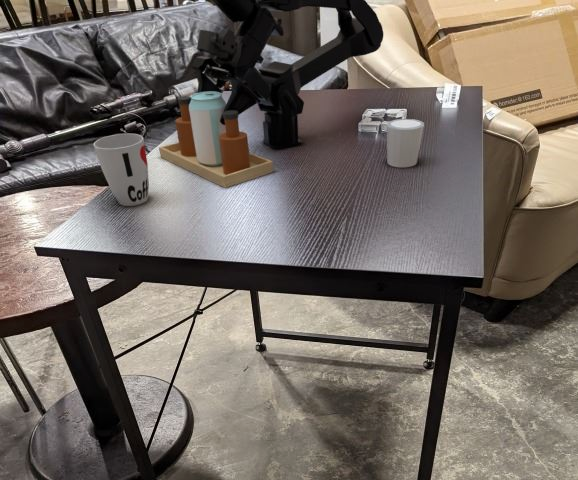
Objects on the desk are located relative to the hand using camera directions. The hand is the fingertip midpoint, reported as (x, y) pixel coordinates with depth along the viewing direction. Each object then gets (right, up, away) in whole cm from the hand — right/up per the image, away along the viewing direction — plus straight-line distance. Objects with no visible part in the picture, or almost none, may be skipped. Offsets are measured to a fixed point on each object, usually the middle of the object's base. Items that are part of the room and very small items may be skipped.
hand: (208, 119), depth 100 cm
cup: (-12, -18, -6) cm, 23 cm away
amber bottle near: (+5, -10, 0) cm, 11 cm away
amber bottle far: (-5, -2, +10) cm, 11 cm away
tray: (0, -6, +6) cm, 8 cm away
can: (+1, -6, +5) cm, 8 cm away
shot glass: (+37, -8, +1) cm, 38 cm away
